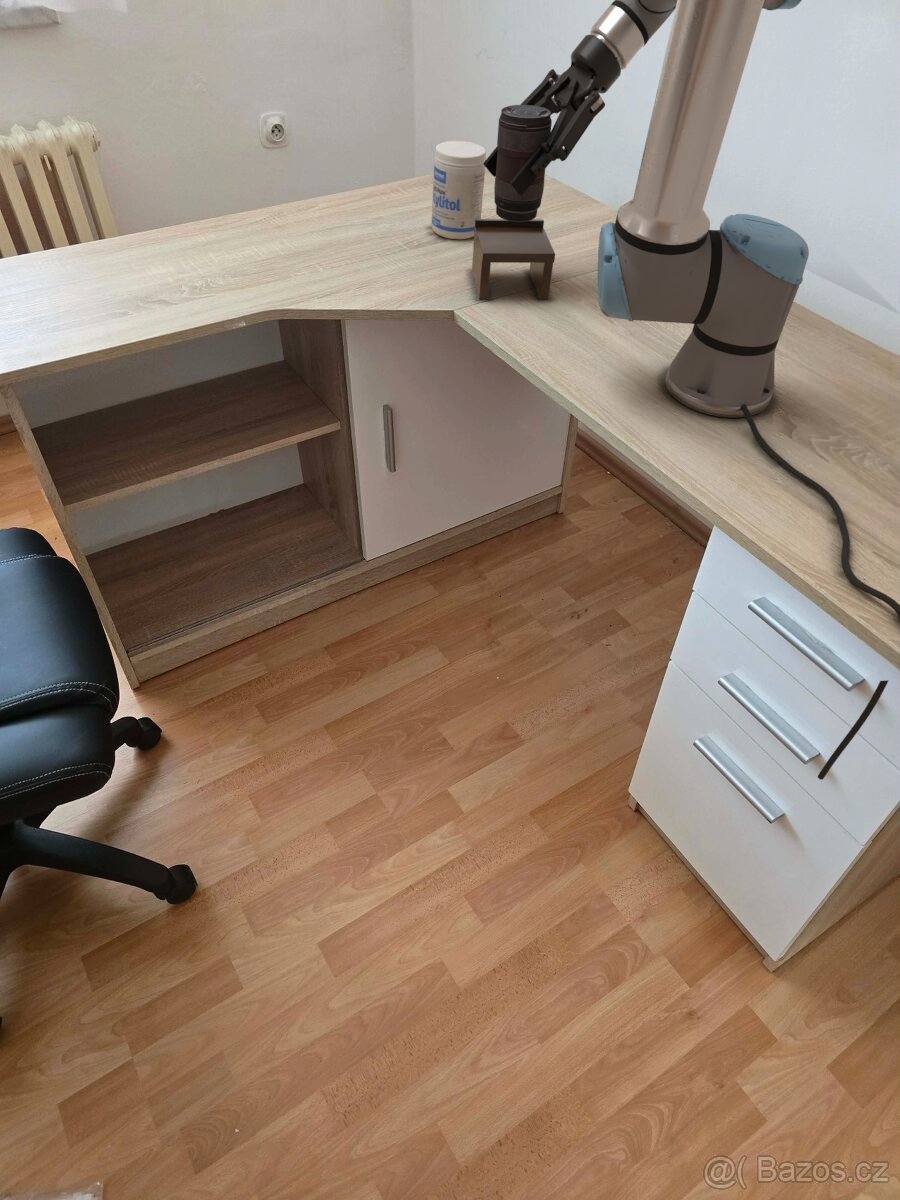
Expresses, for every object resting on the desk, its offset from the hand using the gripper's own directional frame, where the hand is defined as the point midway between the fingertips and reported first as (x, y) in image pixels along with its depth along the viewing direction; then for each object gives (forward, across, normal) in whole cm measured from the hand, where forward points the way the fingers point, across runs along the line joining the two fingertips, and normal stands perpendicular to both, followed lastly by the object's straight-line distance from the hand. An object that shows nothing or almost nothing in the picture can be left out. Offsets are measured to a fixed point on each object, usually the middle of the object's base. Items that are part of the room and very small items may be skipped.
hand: (501, 179), depth 124 cm
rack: (+10, 0, -15) cm, 18 cm away
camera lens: (+2, 0, -6) cm, 7 cm away
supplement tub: (+9, +25, -16) cm, 31 cm away
